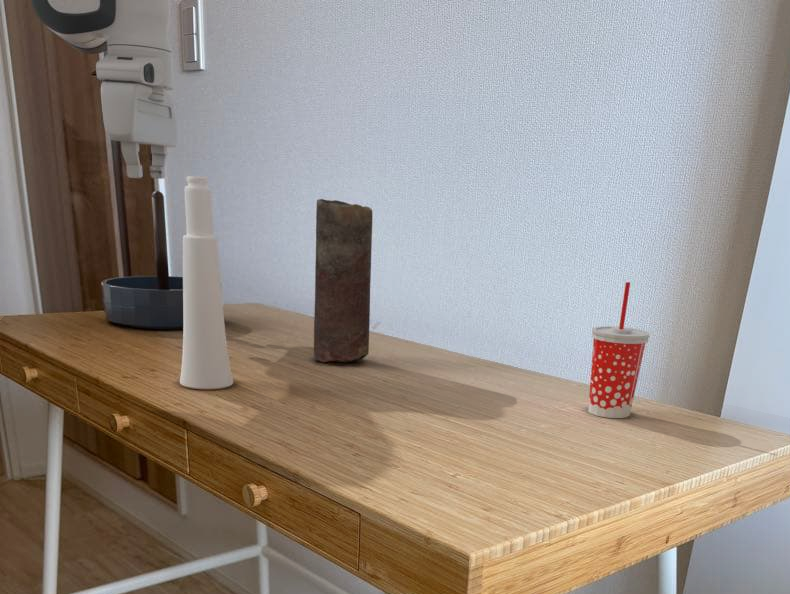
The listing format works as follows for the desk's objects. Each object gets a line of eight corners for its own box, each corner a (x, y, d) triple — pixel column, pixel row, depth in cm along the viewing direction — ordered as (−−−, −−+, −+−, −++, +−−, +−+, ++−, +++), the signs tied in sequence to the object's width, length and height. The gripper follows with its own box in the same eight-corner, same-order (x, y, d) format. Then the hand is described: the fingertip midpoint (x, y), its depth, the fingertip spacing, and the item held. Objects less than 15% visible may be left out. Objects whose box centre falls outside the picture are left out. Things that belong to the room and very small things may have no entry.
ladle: (140, 319, 131) (130, 190, 124) (154, 313, 136) (145, 189, 129) (177, 321, 131) (170, 192, 123) (189, 315, 136) (183, 191, 129)
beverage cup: (602, 403, 97) (620, 278, 91) (647, 414, 93) (669, 284, 87) (569, 410, 93) (586, 280, 87) (616, 423, 89) (636, 287, 83)
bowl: (85, 326, 126) (81, 285, 124) (131, 309, 143) (128, 273, 140) (203, 334, 125) (201, 293, 123) (235, 316, 142) (234, 279, 139)
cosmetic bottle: (191, 391, 92) (179, 176, 84) (172, 380, 97) (159, 174, 88) (241, 387, 95) (235, 178, 87) (221, 376, 100) (213, 177, 91)
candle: (335, 352, 117) (338, 199, 109) (379, 360, 113) (385, 202, 105) (302, 360, 111) (302, 198, 103) (347, 369, 107) (351, 202, 99)
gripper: (146, 80, 129) (151, 177, 134) (89, 62, 110) (98, 176, 116) (186, 83, 129) (189, 180, 134) (136, 65, 110) (142, 179, 115)
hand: (146, 178), depth 125 cm, fingers open, 8 cm apart
